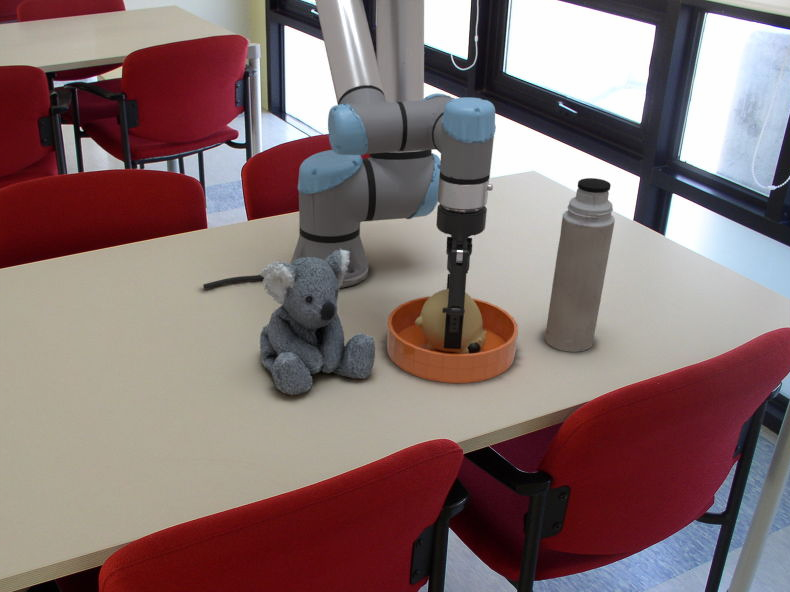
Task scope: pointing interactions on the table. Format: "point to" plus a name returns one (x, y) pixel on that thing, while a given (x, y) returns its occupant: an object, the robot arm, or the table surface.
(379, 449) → the table surface
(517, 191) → the table surface
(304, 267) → the koala plush
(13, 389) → the table surface
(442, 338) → the beige pug toy
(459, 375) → the pan
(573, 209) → the thermos bottle
